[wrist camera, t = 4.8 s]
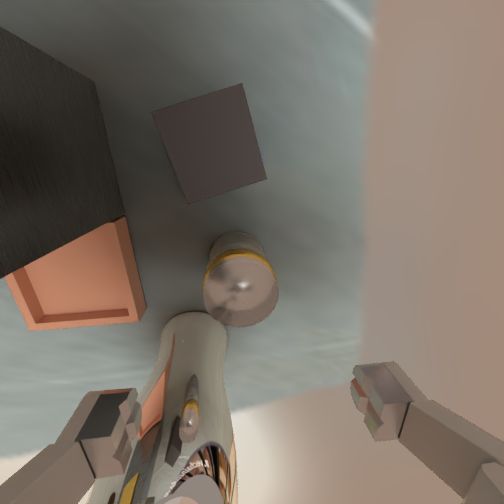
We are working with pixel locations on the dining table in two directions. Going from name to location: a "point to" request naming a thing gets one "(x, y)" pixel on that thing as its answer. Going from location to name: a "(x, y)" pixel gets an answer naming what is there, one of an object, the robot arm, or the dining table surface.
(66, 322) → the tray
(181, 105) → the rubber block
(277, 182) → the dining table surface
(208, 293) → the cylinder
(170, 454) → the beer glass
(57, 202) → the dark grey block
